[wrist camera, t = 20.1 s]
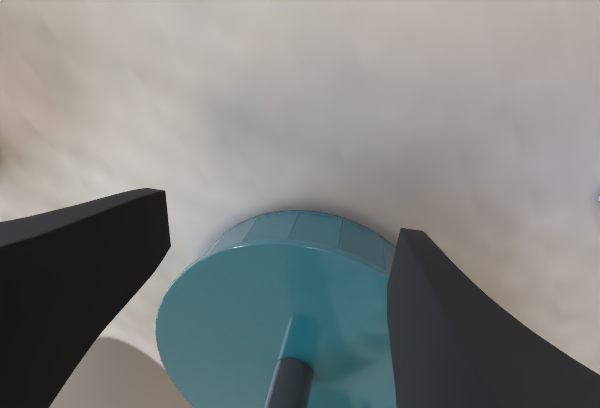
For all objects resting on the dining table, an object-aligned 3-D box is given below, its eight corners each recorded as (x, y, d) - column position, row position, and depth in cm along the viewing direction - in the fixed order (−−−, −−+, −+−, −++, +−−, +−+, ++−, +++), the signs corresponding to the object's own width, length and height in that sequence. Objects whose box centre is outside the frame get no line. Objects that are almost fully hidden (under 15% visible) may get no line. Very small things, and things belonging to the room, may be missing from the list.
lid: (521, 372, 19) (561, 464, 15) (316, 475, 27) (306, 554, 23) (267, 165, 17) (233, 207, 13) (122, 344, 25) (72, 406, 21)
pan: (487, 331, 23) (509, 389, 19) (314, 422, 31) (306, 477, 27) (297, 155, 20) (279, 183, 17) (157, 302, 28) (123, 345, 24)
